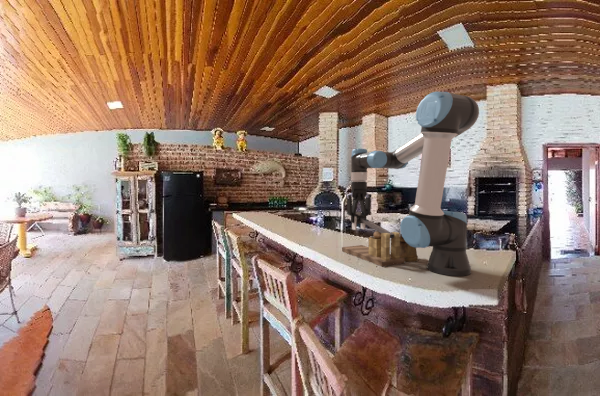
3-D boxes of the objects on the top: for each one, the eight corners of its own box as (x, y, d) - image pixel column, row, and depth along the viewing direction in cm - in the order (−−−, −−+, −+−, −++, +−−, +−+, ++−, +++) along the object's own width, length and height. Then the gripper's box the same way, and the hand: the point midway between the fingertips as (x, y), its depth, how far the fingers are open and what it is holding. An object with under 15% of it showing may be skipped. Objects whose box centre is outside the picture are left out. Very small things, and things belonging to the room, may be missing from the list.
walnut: (384, 240, 132) (384, 231, 132) (377, 240, 130) (377, 231, 130) (378, 238, 136) (378, 229, 135) (371, 239, 134) (371, 230, 134)
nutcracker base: (404, 263, 127) (405, 232, 126) (381, 266, 122) (382, 234, 121) (361, 248, 154) (362, 223, 153) (341, 251, 149) (342, 225, 148)
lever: (395, 240, 126) (397, 231, 125) (387, 241, 124) (388, 232, 123) (359, 219, 149) (360, 211, 148) (351, 220, 147) (352, 212, 146)
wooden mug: (427, 258, 135) (427, 218, 135) (411, 263, 127) (411, 220, 126) (409, 254, 142) (409, 216, 141) (392, 259, 134) (393, 219, 133)
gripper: (368, 181, 152) (368, 227, 153) (339, 181, 145) (339, 229, 146) (378, 181, 145) (377, 229, 146) (348, 181, 138) (347, 231, 139)
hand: (358, 229), depth 146 cm, fingers closed on lever, 4 cm apart
